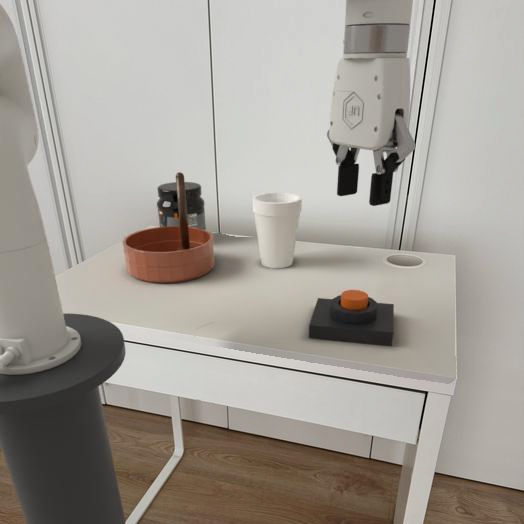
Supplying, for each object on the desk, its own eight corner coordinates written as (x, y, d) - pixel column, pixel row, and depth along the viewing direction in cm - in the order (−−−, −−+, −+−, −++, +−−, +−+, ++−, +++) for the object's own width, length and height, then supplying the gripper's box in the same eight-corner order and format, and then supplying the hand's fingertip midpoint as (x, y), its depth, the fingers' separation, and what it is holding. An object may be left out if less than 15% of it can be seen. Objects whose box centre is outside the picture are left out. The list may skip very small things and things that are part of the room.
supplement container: (175, 231, 125) (170, 179, 119) (214, 235, 122) (211, 182, 116) (151, 243, 116) (145, 189, 111) (193, 248, 113) (189, 192, 107)
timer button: (366, 312, 76) (367, 301, 75) (339, 309, 77) (339, 299, 76) (367, 301, 79) (369, 290, 78) (341, 299, 80) (342, 288, 79)
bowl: (198, 287, 94) (196, 255, 91) (111, 280, 97) (106, 249, 94) (225, 256, 109) (223, 228, 106) (148, 251, 112) (145, 223, 109)
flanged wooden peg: (186, 258, 103) (179, 174, 95) (173, 254, 105) (165, 172, 97) (199, 253, 106) (193, 171, 98) (186, 250, 108) (179, 169, 100)
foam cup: (281, 252, 111) (281, 190, 104) (309, 263, 104) (312, 198, 98) (244, 261, 106) (242, 196, 99) (272, 274, 99) (272, 206, 93)
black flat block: (391, 346, 74) (395, 321, 72) (308, 338, 77) (309, 313, 75) (392, 316, 83) (395, 293, 81) (317, 310, 85) (318, 287, 83)
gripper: (306, 46, 66) (302, 191, 75) (406, 42, 53) (387, 217, 62) (351, 46, 69) (342, 184, 78) (455, 42, 57) (431, 208, 65)
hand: (362, 197), depth 70 cm, fingers open, 5 cm apart
